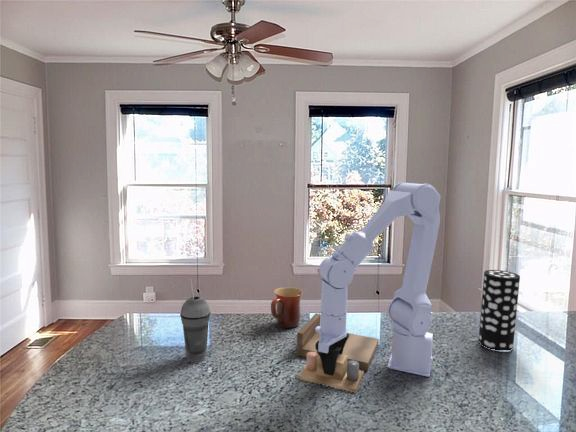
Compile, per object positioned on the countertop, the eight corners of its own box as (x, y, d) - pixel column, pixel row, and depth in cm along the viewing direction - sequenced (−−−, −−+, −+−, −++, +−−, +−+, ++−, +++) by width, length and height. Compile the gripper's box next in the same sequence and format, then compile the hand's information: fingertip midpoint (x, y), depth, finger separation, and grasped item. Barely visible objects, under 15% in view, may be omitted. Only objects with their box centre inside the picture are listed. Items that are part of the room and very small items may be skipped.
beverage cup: (203, 367, 90) (202, 285, 88) (175, 363, 92) (173, 283, 89) (215, 352, 97) (215, 276, 95) (189, 349, 99) (187, 274, 96)
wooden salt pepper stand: (363, 375, 88) (364, 354, 87) (355, 393, 81) (356, 371, 80) (310, 363, 93) (311, 343, 92) (298, 379, 86) (299, 358, 85)
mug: (285, 316, 122) (285, 285, 120) (308, 323, 116) (308, 291, 115) (260, 328, 112) (260, 295, 111) (283, 337, 107) (284, 301, 106)
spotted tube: (504, 339, 108) (510, 270, 105) (519, 353, 99) (526, 279, 97) (473, 337, 108) (479, 269, 106) (485, 351, 100) (492, 277, 98)
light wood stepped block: (378, 345, 102) (379, 324, 102) (367, 371, 90) (368, 346, 89) (315, 333, 109) (315, 313, 109) (296, 355, 97) (297, 332, 96)
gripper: (326, 298, 93) (324, 351, 95) (305, 320, 80) (304, 380, 82) (354, 303, 90) (352, 357, 92) (338, 326, 77) (335, 388, 79)
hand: (331, 368), depth 87 cm, fingers closed on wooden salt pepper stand, 4 cm apart
